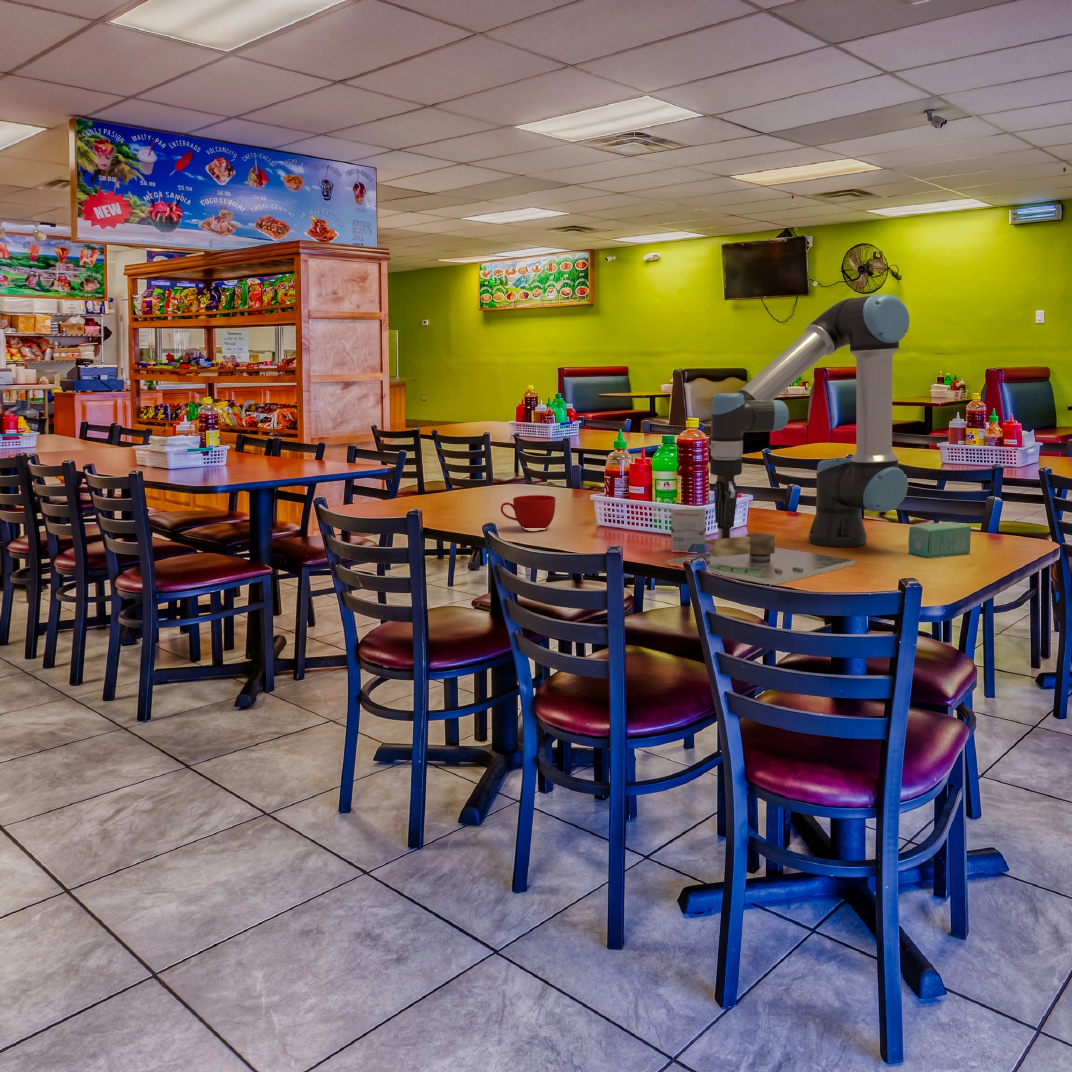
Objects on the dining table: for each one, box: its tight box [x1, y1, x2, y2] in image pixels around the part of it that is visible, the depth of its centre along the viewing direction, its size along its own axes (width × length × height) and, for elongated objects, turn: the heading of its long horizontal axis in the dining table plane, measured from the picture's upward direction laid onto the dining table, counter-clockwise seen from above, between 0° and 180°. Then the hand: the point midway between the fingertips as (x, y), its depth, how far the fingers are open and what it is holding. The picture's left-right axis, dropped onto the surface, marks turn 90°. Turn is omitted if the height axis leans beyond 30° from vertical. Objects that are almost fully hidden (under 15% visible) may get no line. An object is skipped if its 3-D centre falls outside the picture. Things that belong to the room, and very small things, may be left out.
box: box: [907, 521, 972, 559], centre depth 240 cm, size 7×14×8 cm, turn 110°
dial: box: [704, 532, 776, 557], centre depth 229 cm, size 19×7×4 cm, turn 109°
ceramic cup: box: [500, 494, 556, 529], centre depth 290 cm, size 13×17×10 cm
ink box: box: [670, 506, 707, 554], centre depth 250 cm, size 9×5×12 cm, turn 70°
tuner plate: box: [666, 547, 856, 586], centre depth 232 cm, size 32×32×3 cm
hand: (723, 553), depth 232 cm, fingers closed
